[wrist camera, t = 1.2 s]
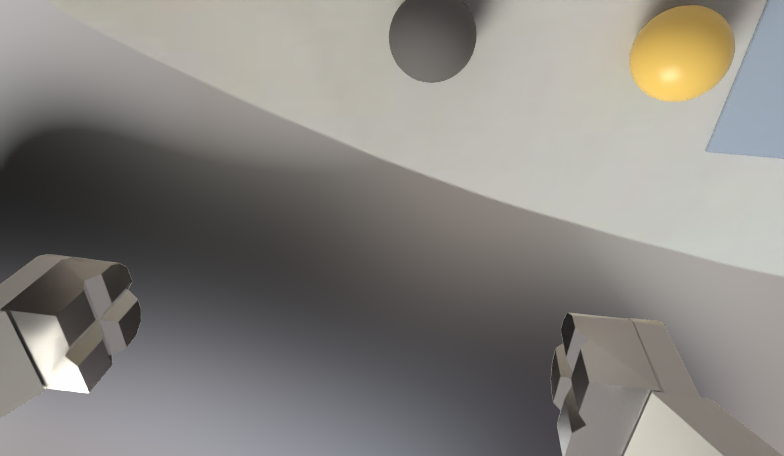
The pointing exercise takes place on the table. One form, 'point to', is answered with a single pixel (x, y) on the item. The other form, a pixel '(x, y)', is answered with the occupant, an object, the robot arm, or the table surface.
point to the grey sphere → (432, 38)
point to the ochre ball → (682, 53)
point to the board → (756, 94)
